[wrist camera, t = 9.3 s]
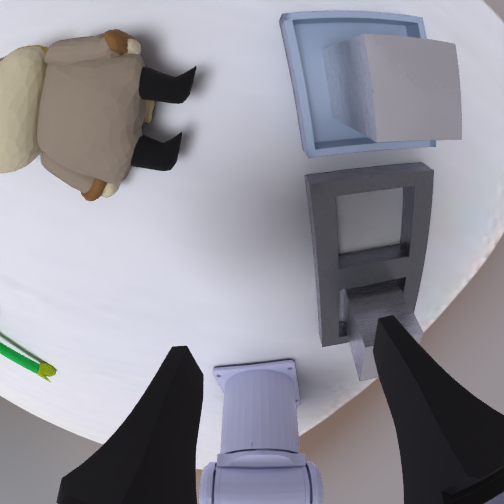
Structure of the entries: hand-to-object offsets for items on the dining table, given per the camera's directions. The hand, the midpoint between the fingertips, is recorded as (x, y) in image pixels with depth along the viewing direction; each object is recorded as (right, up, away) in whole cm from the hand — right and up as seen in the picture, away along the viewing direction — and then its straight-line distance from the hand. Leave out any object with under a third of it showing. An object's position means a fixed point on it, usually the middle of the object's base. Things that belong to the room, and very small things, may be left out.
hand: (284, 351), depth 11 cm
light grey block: (+5, +13, +3) cm, 14 cm away
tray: (+5, +13, +3) cm, 15 cm away
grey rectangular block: (+8, 0, +12) cm, 14 cm away
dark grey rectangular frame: (+7, +3, +10) cm, 13 cm away
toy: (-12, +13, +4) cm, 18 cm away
